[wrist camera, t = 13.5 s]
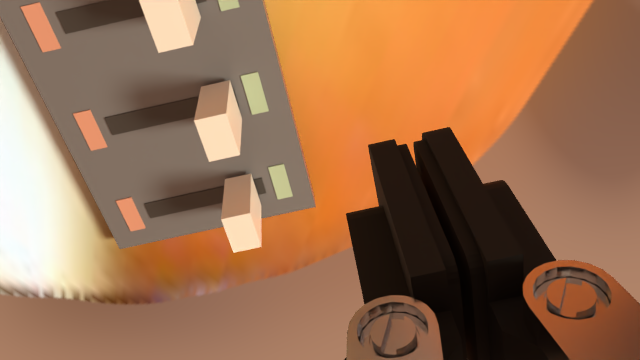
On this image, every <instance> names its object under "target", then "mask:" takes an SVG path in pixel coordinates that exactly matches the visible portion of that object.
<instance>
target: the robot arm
mask: <svg viewBox="0 0 640 360" xmlns="http://www.w3.org/2000/svg"><path fill="white" fill-rule="evenodd" d="M368 147H369V154H370V159H371V165H372V170H373V176H374V181H375V187H376V192H377V198H378V203H379V207H374V208H369V209H365V210H360V211H355V212H351V213H346V216H347V221H348V226H349V231H350V236H351V241H352V246H353V250H354V255H355V260H356V265H357V269H358V275H359V280H360V284H361V289H362V294H363V299H364V304H365V305H364V306H362V307H361V308H360V309H359V310H358V311H357V312H356V313H355V314H354V316H353V317H352V319H351V321H350V323H349V327H348V332H347V357H346V358H345V360H640V303H639V302H637V300H636V299H634V297H633V296H632V295H631V294H630V293H629V292H628V291H627V290H626V289H624V287H623V286H621V285H620V284H619V283H618V281H616V280H615V279H614V278H613V277H612V276H611V275H609V274H608V273H607V272H605V271H604V270H603V269H601V268H598V267H596V266H593V265H592V264H589V263H584V262H580V261H575V260H558V261H556V259H555V258H554V256H553V255H552V253H551V252H550V250H549V248H548V247H547V245H546V244H545V242H544V241H543V239H542V237H541V236H540V234H539V233H538V231H537V230H536V228H535V227H534V225H533V223H532V222H531V220H530V219H529V217H528V216H527V214H526V213H525V211H524V209H523V208H522V207H521V205H520V203H519V202H518V200H517V199H516V197H515V195H514V194H513V192H512V191H511V189H510V188H509V186H508V185H507V184H506V182H505V181H503V180H500V181H495V182H490V183H486V184H483V183H482V182H481V180H480V178H479V176H478V175H477V173H476V171H475V170H474V168H473V166H472V164H471V163H470V161H469V159H468V157H467V156H466V154H465V152H464V151H463V149H462V147H461V145H460V144H459V142H458V140H457V138H456V137H455V135H454V133H453V132H452V130H451V129H450V127H447V128H443V129H438V130H434V131H429V132H425V133H422V140H421V141H416V142H414V153H415V161H416V165H415V163H414V161H413V158H412V156H411V154H410V151H409V149H408V147H407V145H406V144H403V145H398V146H397V144H396V141H395V140H394V139H393V140H388V141H384V142H379V143H375V144H370V145H368Z"/></svg>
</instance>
